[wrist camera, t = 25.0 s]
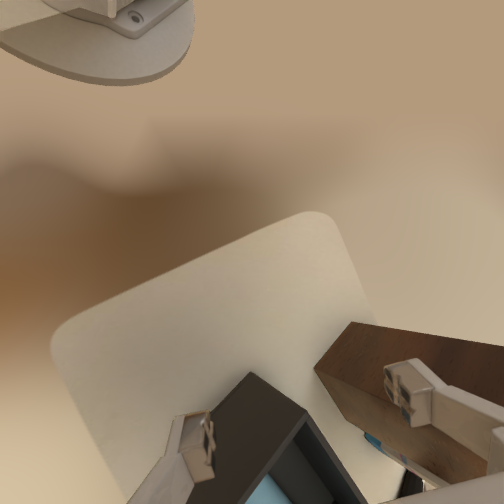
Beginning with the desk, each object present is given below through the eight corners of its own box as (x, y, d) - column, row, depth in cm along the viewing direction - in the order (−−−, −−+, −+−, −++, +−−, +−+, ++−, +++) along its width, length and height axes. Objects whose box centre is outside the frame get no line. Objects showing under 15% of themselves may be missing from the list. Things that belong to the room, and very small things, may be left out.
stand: (313, 368, 34) (750, 564, 10) (351, 321, 38) (717, 380, 14) (346, 420, 35) (794, 698, 12) (379, 369, 40) (752, 494, 16)
